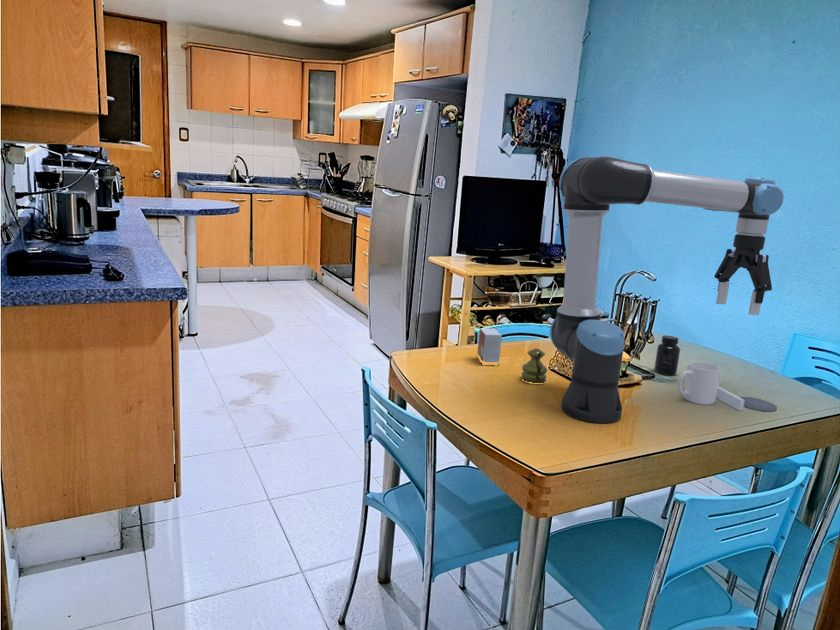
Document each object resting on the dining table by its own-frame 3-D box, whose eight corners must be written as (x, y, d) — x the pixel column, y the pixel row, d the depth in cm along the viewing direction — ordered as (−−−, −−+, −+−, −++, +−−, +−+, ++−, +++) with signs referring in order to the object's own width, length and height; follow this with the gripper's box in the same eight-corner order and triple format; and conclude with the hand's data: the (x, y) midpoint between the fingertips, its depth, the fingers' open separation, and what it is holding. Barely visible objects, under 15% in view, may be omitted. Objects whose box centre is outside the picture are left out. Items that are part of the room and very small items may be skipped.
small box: (476, 358, 194) (479, 327, 192) (493, 358, 195) (496, 328, 192) (482, 366, 186) (484, 334, 184) (499, 366, 187) (502, 334, 185)
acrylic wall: (738, 410, 160) (740, 400, 160) (706, 392, 174) (708, 382, 173) (742, 410, 161) (744, 400, 160) (710, 392, 174) (711, 382, 173)
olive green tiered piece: (544, 387, 170) (547, 354, 168) (518, 382, 173) (522, 350, 170) (547, 379, 177) (550, 347, 175) (522, 375, 179) (525, 344, 177)
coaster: (753, 411, 160) (753, 410, 160) (728, 398, 170) (728, 397, 170) (785, 411, 162) (785, 410, 162) (759, 398, 171) (759, 396, 171)
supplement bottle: (680, 374, 190) (686, 338, 187) (668, 377, 186) (674, 341, 183) (661, 368, 195) (667, 333, 193) (649, 371, 192) (654, 335, 189)
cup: (721, 404, 164) (727, 370, 162) (685, 406, 161) (691, 371, 159) (700, 394, 172) (706, 361, 170) (665, 395, 169) (671, 362, 167)
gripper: (797, 239, 151) (781, 319, 156) (731, 230, 175) (719, 300, 180) (771, 238, 150) (756, 319, 155) (709, 229, 174) (697, 299, 179)
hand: (736, 309), depth 167 cm, fingers open, 13 cm apart
